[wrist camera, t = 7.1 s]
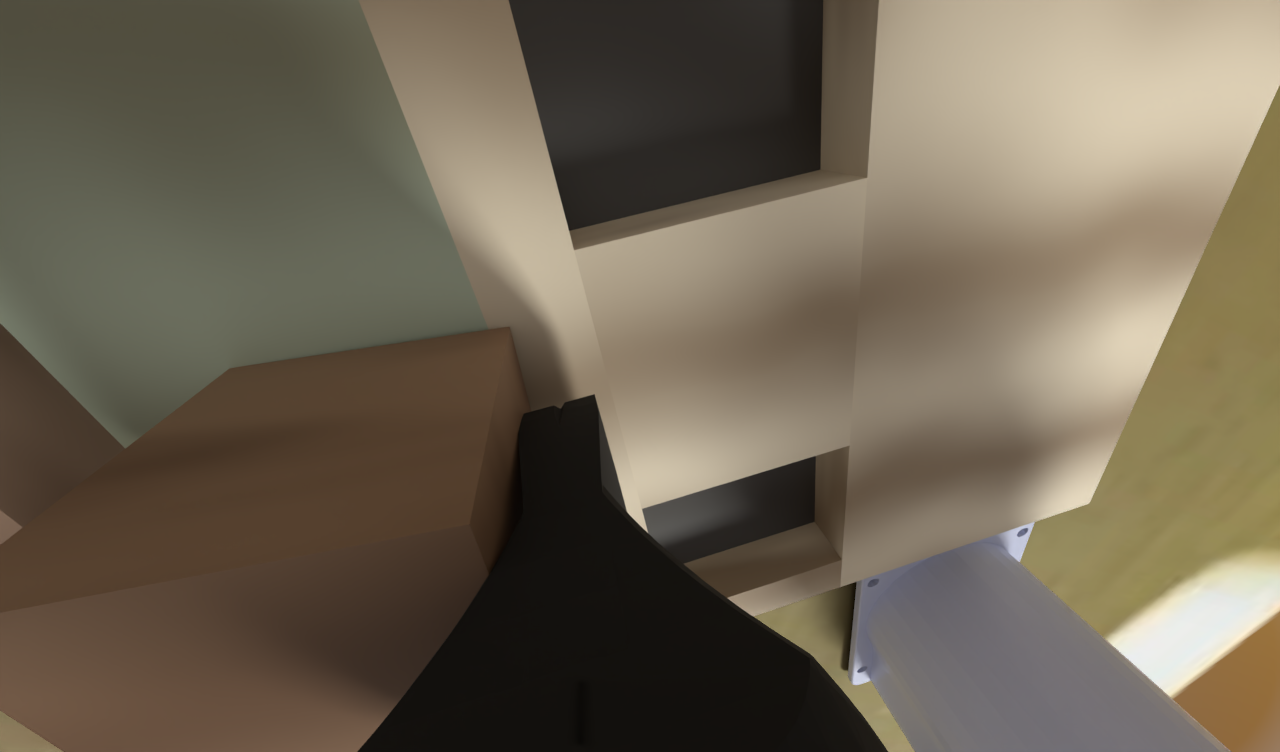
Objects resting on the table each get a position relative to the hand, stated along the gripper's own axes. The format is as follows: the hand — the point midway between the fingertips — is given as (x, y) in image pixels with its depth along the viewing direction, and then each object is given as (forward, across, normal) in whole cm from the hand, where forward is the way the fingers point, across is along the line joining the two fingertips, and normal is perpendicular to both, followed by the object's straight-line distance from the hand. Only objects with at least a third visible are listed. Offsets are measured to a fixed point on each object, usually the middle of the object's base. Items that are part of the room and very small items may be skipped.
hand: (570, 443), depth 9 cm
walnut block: (+1, +3, 0) cm, 3 cm away
